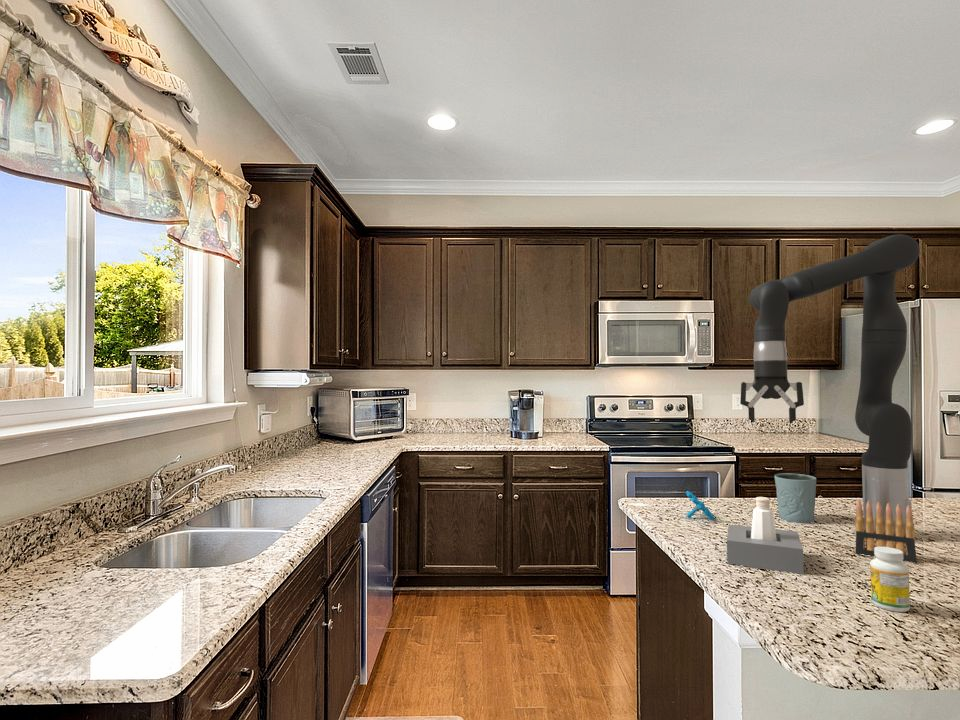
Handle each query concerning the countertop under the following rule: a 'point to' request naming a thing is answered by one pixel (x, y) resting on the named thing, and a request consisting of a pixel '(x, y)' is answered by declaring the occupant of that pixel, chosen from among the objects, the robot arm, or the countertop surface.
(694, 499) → the blue t-shaped piece
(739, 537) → the frame
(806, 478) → the blue cup
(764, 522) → the pepper shaker
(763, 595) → the countertop surface
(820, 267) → the robot arm
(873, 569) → the supplement bottle
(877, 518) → the ammunition clip
